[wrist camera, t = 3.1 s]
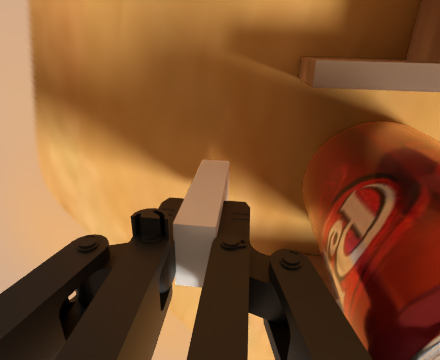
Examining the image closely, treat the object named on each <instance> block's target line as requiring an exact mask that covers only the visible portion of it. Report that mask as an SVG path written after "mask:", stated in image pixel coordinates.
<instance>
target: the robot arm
mask: <svg viewBox="0 0 440 360" xmlns="http://www.w3.org/2000/svg"><path fill="white" fill-rule="evenodd" d="M229 170H230V161H223V160H206V159H202V161H201V163H200V166H199V168H198V170H197V172H196V174H195V176H194V179H193V181H192V183H191V185H190V187H189V190H188V192H187V194H186V196H185V198H184V199H182V198H168V199H167V200H165V201H164V202H162V203H161V205H160V207H159V209H156V208H150V209H143V210H140V211H138V212H135V213H134V214H133V215H132V216H131V223H132V232H133V237H132V239H131V240H130V242H128V243H123V244H116V245H109V242H108V240H107V238H106V237H104V236H102V235H87V236H83V237H80V238H78V239H76V240H74V241H72V242H71V243H70V244H68V245H67V246H65V247H64V248H63V249H61V250H60V251H59V252H57V253H56V254H54V255H53V256H52V257H50V258H49V259H48V260H46V261H45V262H43V263H42V264H41V265H39V266H38V267H37V268H35V269H34V270H32V271H31V272H30V273H28V274H27V275H26V276H25V277H23V278H22V279H20V280H19V281H18V282H16V283H15V284H13V285H12V286H11V287H9V288H8V289H6V290H5V291H4V292H2V293H1V294H0V360H151V359H152V356H153V353H154V350H155V347H156V344H157V341H158V337H159V334H160V331H161V328H162V325H163V322H164V319H165V316H166V313H167V310H168V307H169V304H170V301H171V297H172V282H173V279H174V276H175V284H176V285H182V286H192V287H202V291H201V296H200V301H199V305H198V310H197V314H196V319H195V324H194V328H193V333H192V338H191V342H190V347H189V352H188V356H187V360H247V355H248V312H249V313H251V314H254V315H256V316H259V317H261V318H263V320H264V325H265V329H266V332H267V335H268V338H269V341H270V344H271V347H272V351H273V354H274V357H275V360H372V358H371V356H370V355H369V353H368V352H367V350H366V348H365V347H364V345H363V344H362V342H361V340H360V339H359V337H358V336H357V334H356V333H355V331H354V329H353V328H352V326H351V325H350V323H349V321H348V320H347V318H346V317H345V315H344V313H343V312H342V310H341V309H340V307H339V305H338V304H337V302H336V301H335V299H334V297H333V296H332V294H331V293H330V291H329V290H328V288H327V286H326V285H325V283H324V282H323V280H322V278H321V277H320V275H319V274H318V272H317V270H316V269H315V267H314V266H313V264H312V262H311V261H310V260H309V259H308V258H307V257H306V256H305V255H304V254H302V253H300V252H298V251H294V250H288V249H283V250H278V251H276V252H274V253H273V254H272V255H271V257H270V256H267V255H264V254H262V253H259V252H258V251H256V250H255V249H254V248H253V247H252V246H251V244H250V241H249V233H250V207H249V206H248V205H247V203H246V202H236V201H228V194H229ZM75 290H76V296H75V297H73V298H72V299H70V300H69V299H68V296H69V295H71V294H72V293H73V292H74V291H75Z"/></svg>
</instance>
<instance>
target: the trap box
mask: <svg viewBox="0 0 440 360" xmlns="http://www.w3.org/2000/svg"><path fill="white" fill-rule="evenodd" d="M299 79H301V80H302V81H304V82H305V83H307V84H308V85H309V86H311V87H314V88H341V89H368V90H394V91H421V92H440V0H421V2H420V6H419V10H418V14H417V18H416V22H415V26H414V30H413V33H412V37H411V41H410V45H409V49H408V53H407V57H406V60H390V59H356V58H322V57H301V62H300V70H299ZM305 256H306V257H307V258H308V259H309V260H310V261H311V262H312V264H313V266H314V267H315V269H316V270H317V272H318V274H319V275H320V277H321V278H322V280H323V282H324V283H325V285H326V286H327V288H328V290H329V291H330V293H331V294H332V296H333V297H334V295H333V292H332V289H331V285H330V282H329V279H328V276H327V273H326V270H325V267H324V264H323V260H322V257H321V256H315V255H305ZM334 299H335V298H334Z"/></svg>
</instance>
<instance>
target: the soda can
mask: <svg viewBox="0 0 440 360" xmlns="http://www.w3.org/2000/svg"><path fill="white" fill-rule="evenodd" d="M303 199H304V203H305V207H306V210H307V214H308V217H309V220H310V223H311V226H312V229H313V232H314V235H315V239H316V242H317V245H318V248H319V251H320V254H321V257H322V260H323V264H324V267H325V270H326V273H327V276H328V279H329V282H330V285H331V289H332V292H333V295H334V298H335V301H336V302H337V304H338V305H339V307H340V309H341V310H342V312H343V313H344V315H345V317H346V318H347V320H348V321H349V323H350V325H351V326H352V328H353V329H354V331H355V333H356V334H357V336H358V337H359V339H360V340H361V342H362V344H363V345H364V347H365V348H366V350H367V352H368V353H369V355H370V356H371V358H372V360H440V141H438V140H436V139H434V138H432V137H430V136H428V135H426V134H424V133H422V132H420V131H418V130H416V129H414V128H412V127H410V126H407V125H403V124H400V123H396V122H387V121H376V122H366V123H363V124H359V125H355V126H352V127H350V128H348V129H345V130H343V131H341V132H339V133H338V134H336V135H335V136H333V137H332V138H330V139H329V140H327V141H326V142H325V143H324V144H323V145H322V146H321V147H320V148H319V149H318V150H317V152H316V153H315V155H314V156H313V157H312V159H311V160H310V162H309V164H308V167H307V169H306V171H305V175H304V179H303Z"/></svg>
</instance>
